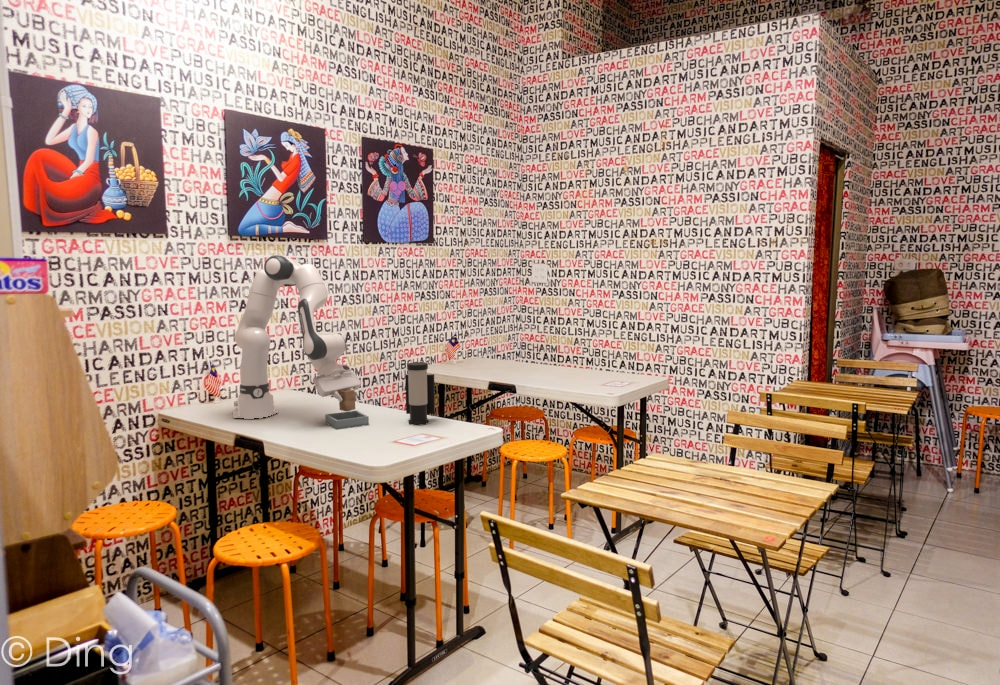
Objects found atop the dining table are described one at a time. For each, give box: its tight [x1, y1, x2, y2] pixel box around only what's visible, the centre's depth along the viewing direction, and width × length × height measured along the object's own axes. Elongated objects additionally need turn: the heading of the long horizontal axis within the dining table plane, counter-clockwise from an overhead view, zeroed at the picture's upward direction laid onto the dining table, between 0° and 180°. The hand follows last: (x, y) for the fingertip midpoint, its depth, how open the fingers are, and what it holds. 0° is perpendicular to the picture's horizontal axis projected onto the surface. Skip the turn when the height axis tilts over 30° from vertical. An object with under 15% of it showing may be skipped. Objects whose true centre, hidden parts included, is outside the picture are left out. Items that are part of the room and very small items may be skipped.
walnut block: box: [338, 389, 356, 412], centre depth 282 cm, size 4×4×8 cm
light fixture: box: [404, 361, 436, 426], centre depth 283 cm, size 12×11×25 cm
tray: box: [324, 410, 370, 430], centre depth 283 cm, size 14×14×4 cm
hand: (347, 399), depth 282 cm, fingers closed on walnut block, 4 cm apart
